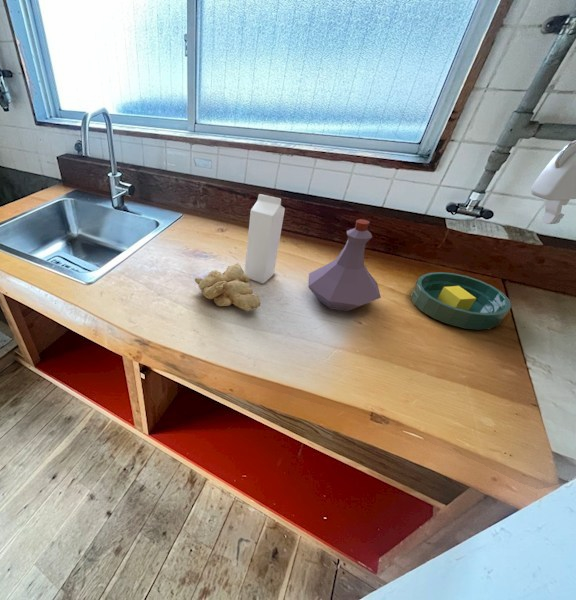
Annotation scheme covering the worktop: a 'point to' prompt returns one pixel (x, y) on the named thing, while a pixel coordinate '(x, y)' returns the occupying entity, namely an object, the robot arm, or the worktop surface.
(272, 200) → the milk
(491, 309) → the bowl
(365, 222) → the flask
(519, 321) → the worktop surface
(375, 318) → the worktop surface
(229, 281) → the ginger root
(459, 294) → the yellow block
